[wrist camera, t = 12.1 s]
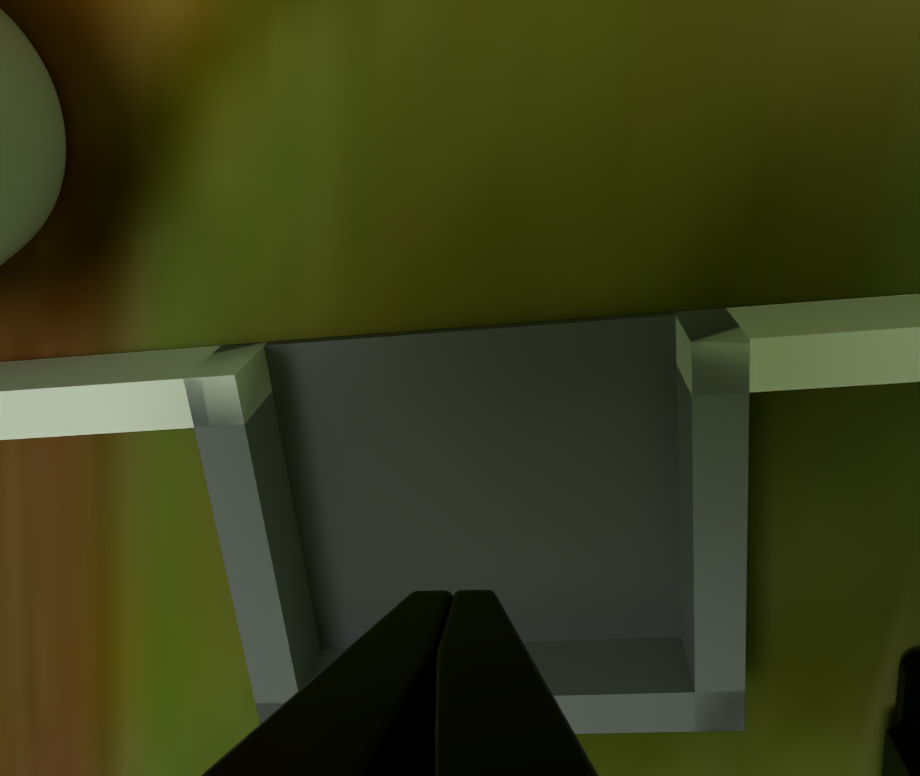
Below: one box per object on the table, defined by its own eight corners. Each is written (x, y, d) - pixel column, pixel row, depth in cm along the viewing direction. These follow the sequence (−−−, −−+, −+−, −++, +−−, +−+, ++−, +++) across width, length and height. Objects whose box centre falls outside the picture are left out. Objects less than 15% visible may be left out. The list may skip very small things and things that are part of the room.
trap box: (1390, -1307, 12) (1954, -2218, 7) (1065, 655, 23) (1202, 807, 18) (-699, -764, 16) (-1228, -1121, 11) (-118, 689, 27) (-258, 821, 22)
